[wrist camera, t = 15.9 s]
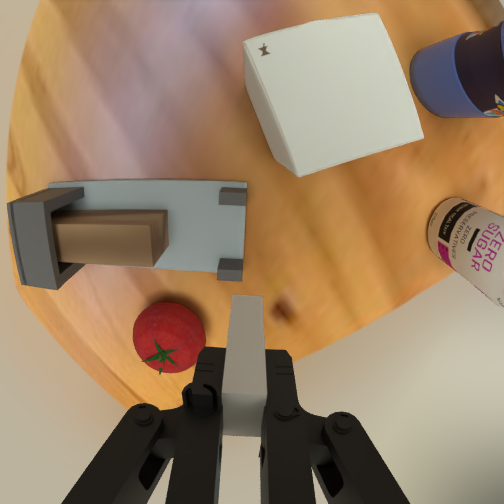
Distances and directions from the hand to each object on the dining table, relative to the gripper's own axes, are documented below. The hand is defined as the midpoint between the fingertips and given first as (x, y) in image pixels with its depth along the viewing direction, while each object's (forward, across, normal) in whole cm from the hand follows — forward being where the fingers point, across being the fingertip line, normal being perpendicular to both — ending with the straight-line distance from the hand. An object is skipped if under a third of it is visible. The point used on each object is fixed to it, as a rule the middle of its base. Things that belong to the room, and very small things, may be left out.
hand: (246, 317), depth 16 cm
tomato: (+18, -9, -14) cm, 24 cm away
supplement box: (+19, +4, +12) cm, 23 cm away
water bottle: (+19, +22, +19) cm, 34 cm away
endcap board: (+18, -12, -1) cm, 22 cm away
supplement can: (+19, +26, +1) cm, 32 cm away
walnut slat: (+17, -16, -1) cm, 23 cm away
